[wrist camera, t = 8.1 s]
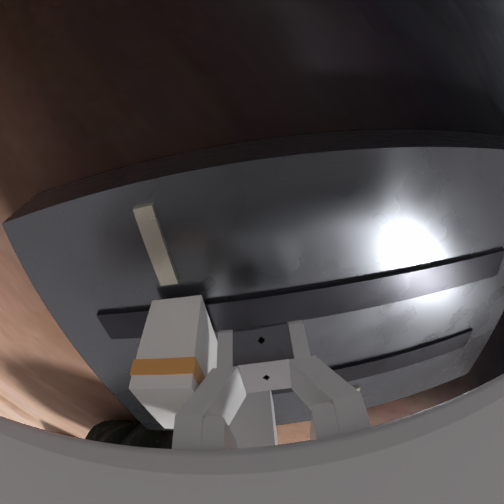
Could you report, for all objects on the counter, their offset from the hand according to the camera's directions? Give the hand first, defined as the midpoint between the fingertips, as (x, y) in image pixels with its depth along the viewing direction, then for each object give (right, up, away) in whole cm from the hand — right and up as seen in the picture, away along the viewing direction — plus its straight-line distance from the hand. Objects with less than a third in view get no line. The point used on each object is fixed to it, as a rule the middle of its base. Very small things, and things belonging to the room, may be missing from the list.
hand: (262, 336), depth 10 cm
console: (+3, 0, +6) cm, 6 cm away
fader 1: (-3, 0, +1) cm, 3 cm away
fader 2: (0, -5, +5) cm, 7 cm away
